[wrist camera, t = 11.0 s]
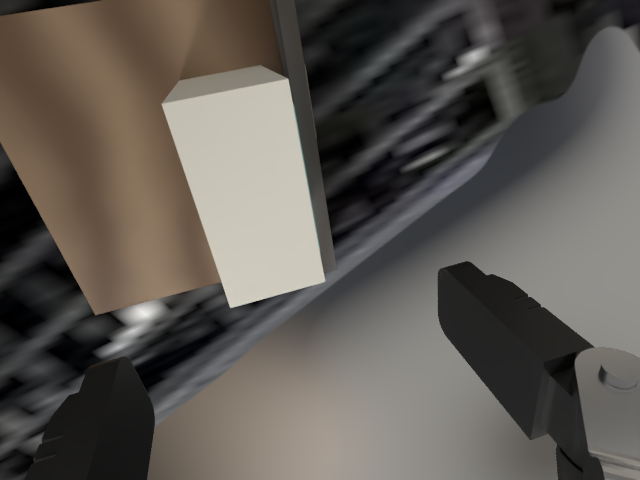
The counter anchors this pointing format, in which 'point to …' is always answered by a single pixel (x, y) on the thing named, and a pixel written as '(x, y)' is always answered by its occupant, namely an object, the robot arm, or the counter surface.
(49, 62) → the shelf plank
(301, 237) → the carton
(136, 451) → the robot arm
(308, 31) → the counter surface
